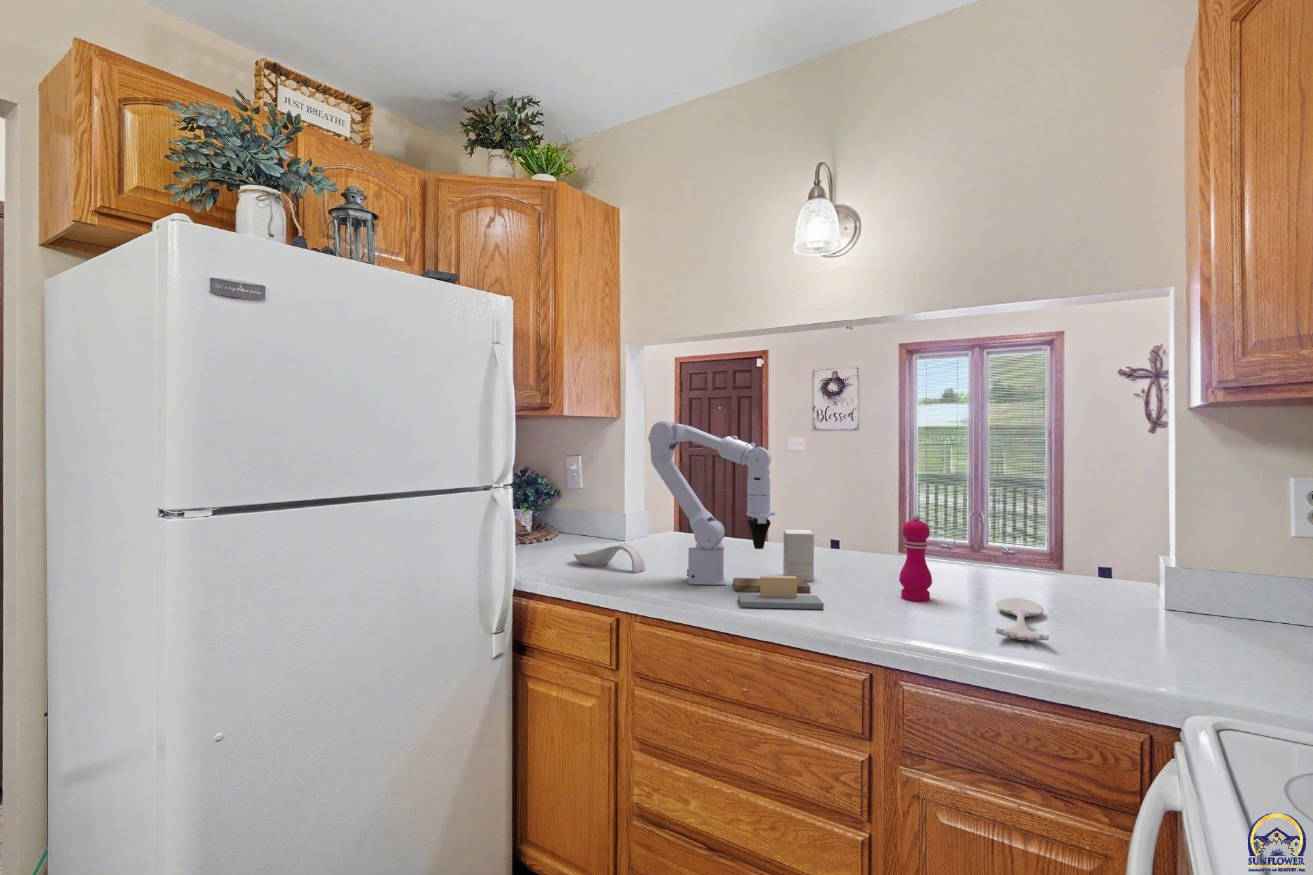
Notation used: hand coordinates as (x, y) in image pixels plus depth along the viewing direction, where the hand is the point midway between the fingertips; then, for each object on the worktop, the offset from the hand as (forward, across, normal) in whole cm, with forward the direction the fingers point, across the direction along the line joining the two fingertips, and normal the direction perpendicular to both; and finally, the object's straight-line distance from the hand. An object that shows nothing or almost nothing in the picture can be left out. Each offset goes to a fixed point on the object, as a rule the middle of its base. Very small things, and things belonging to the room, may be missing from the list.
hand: (758, 548), depth 166 cm
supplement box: (+10, +10, -12) cm, 18 cm away
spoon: (+11, -31, -49) cm, 59 cm away
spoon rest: (+9, +20, +41) cm, 46 cm away
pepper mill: (+10, -10, -36) cm, 38 cm away
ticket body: (+9, -3, -3) cm, 10 cm away
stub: (+9, -19, -3) cm, 21 cm away
